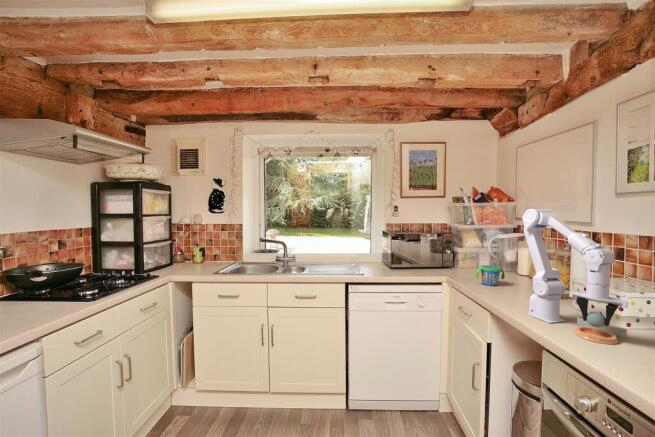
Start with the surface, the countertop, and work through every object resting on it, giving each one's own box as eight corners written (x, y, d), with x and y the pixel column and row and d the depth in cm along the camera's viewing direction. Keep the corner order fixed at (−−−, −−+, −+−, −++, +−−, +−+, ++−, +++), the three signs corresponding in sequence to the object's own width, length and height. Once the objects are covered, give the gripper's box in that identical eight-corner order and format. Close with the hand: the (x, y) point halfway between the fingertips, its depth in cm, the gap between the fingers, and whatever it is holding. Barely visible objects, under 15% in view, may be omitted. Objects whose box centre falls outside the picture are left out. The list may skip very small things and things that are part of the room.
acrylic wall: (576, 325, 109) (577, 318, 109) (577, 324, 110) (578, 317, 110) (626, 338, 99) (626, 330, 99) (626, 337, 100) (627, 329, 100)
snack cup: (499, 282, 171) (500, 265, 171) (509, 287, 161) (509, 269, 160) (472, 281, 173) (472, 264, 172) (479, 286, 162) (480, 268, 162)
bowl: (566, 331, 104) (566, 327, 104) (588, 328, 106) (588, 324, 106) (602, 346, 93) (602, 341, 93) (626, 342, 96) (626, 337, 96)
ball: (582, 324, 101) (583, 310, 101) (592, 323, 103) (593, 309, 102) (599, 330, 96) (599, 315, 96) (609, 329, 98) (610, 314, 98)
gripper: (630, 286, 96) (628, 326, 96) (573, 277, 107) (572, 313, 108) (626, 289, 91) (624, 332, 92) (568, 280, 103) (566, 318, 103)
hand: (596, 322), depth 99 cm, fingers closed on ball, 5 cm apart
